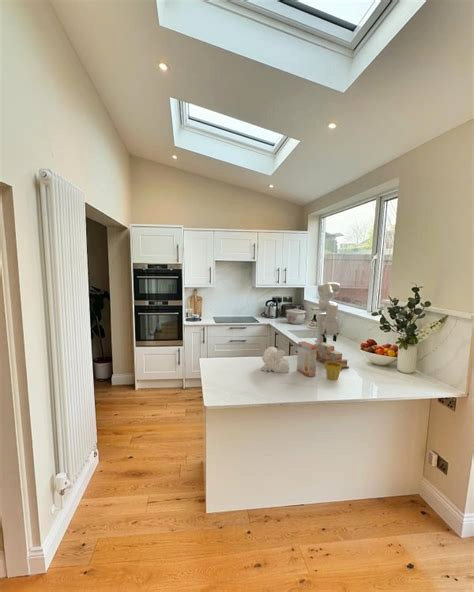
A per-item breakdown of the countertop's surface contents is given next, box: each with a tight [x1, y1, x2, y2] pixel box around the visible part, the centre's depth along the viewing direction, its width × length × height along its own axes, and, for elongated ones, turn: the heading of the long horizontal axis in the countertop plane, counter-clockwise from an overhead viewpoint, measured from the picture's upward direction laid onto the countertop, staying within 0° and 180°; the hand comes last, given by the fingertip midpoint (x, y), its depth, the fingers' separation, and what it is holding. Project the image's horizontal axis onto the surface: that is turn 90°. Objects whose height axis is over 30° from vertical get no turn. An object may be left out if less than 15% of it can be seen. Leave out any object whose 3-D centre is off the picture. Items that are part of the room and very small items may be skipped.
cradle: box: [316, 349, 350, 370], centre depth 227 cm, size 30×12×6 cm, turn 23°
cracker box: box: [296, 340, 318, 378], centre depth 202 cm, size 14×6×21 cm, turn 23°
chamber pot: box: [285, 307, 307, 325], centre depth 390 cm, size 28×27×21 cm
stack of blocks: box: [317, 342, 343, 362], centre depth 226 cm, size 21×6×12 cm, turn 20°
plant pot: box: [324, 362, 342, 381], centre depth 194 cm, size 10×10×10 cm
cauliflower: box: [260, 346, 290, 374], centre depth 207 cm, size 19×20×20 cm
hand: (329, 341), depth 226 cm, fingers open, 9 cm apart
